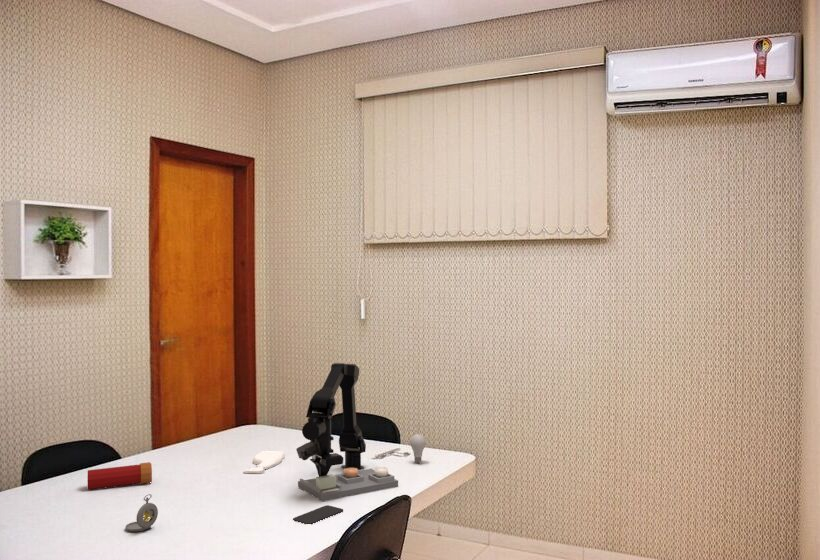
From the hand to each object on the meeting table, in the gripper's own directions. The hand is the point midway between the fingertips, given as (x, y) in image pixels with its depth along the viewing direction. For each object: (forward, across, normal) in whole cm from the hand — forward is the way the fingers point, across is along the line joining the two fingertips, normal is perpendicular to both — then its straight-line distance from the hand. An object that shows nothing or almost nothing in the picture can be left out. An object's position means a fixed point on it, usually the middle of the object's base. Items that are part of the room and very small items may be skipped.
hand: (322, 481), depth 220 cm
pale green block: (+2, +3, 0) cm, 3 cm away
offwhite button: (0, +4, +20) cm, 21 cm away
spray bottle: (+4, -43, -3) cm, 43 cm away
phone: (+4, +19, -11) cm, 23 cm away
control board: (+4, -1, +10) cm, 11 cm away
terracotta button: (0, -1, +11) cm, 11 cm away
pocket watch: (+4, +2, -57) cm, 57 cm away
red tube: (+4, -45, -53) cm, 70 cm away
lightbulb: (+4, -13, +47) cm, 49 cm away
